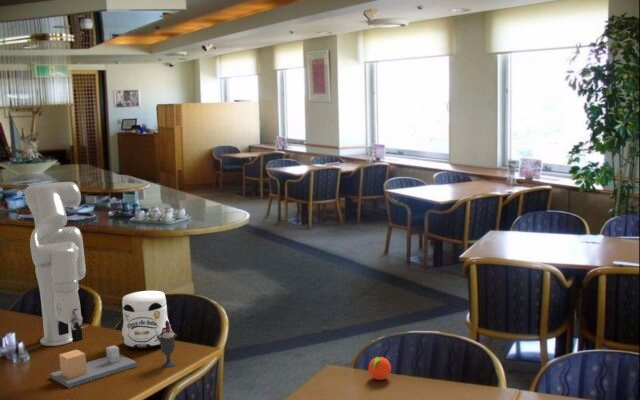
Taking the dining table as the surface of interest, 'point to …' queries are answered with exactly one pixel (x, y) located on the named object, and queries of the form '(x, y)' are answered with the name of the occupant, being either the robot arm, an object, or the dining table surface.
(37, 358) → the dining table surface
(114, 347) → the post far
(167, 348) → the sundae
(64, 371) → the peach wooden block
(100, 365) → the slate board
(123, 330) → the milk container
